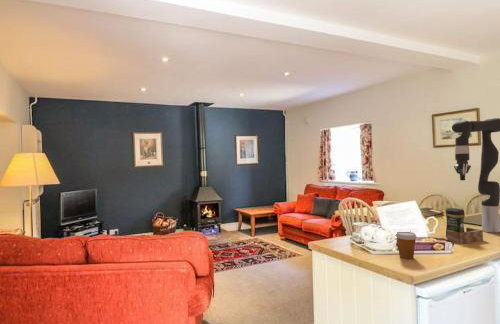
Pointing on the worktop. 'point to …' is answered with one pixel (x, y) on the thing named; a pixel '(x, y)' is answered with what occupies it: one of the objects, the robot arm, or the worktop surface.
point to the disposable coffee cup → (406, 244)
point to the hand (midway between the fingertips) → (462, 180)
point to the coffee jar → (455, 220)
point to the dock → (465, 236)
